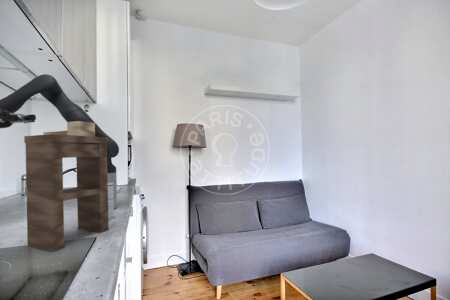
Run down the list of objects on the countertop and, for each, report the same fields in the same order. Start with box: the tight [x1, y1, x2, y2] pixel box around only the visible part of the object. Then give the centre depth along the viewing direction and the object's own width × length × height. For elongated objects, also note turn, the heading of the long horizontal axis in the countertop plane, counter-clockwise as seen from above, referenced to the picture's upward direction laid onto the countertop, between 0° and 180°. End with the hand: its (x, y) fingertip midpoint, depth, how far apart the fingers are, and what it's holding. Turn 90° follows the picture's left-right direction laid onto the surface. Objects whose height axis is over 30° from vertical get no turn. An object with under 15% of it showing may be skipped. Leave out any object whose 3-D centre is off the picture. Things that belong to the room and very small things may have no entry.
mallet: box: [42, 121, 96, 137], centre depth 78 cm, size 6×20×5 cm, turn 69°
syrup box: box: [108, 183, 115, 220], centre depth 91 cm, size 6×6×14 cm
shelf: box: [23, 134, 110, 253], centre depth 71 cm, size 18×12×32 cm, turn 159°
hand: (21, 115), depth 84 cm, fingers open, 8 cm apart
